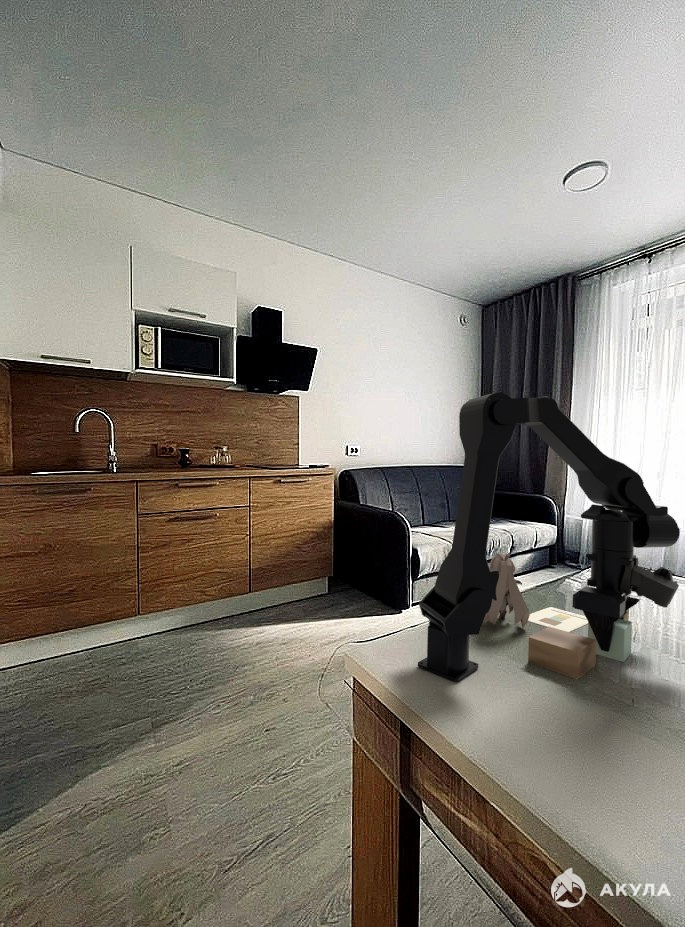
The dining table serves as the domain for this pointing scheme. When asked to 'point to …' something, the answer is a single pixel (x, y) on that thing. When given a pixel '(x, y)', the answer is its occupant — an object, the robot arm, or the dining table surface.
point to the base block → (562, 651)
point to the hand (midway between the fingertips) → (609, 646)
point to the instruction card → (558, 619)
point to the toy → (506, 592)
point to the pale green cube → (616, 641)
